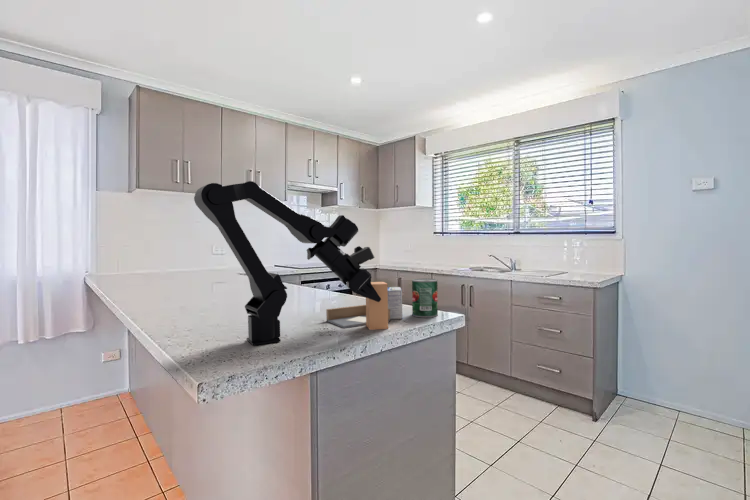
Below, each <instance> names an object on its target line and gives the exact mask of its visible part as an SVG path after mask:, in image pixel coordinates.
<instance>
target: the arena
mask: <svg viewBox="0 0 750 500" xmlns="http://www.w3.org/2000/svg"><path fill="white" fill-rule="evenodd" d="M325 311H326V322H328V323H331V324H333V325H335V326H338V327H339V328H342V329H348V328H354V327H355V328H356V327H360V326H361V327H362V326H366V304H361V305H359V304H358V305H352V306H342V307H333V308H326V310H325ZM389 322H391V319H390V309H388V323H389Z"/></svg>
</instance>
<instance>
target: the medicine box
mask: <svg viewBox="0 0 750 500" xmlns="http://www.w3.org/2000/svg"><path fill="white" fill-rule="evenodd" d="M388 309H390V320H402V319H403V291H402V288H401V286H390V287H388Z"/></svg>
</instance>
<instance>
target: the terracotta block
mask: <svg viewBox="0 0 750 500" xmlns="http://www.w3.org/2000/svg"><path fill="white" fill-rule="evenodd" d="M371 284H372V286H373V288H374V289H375V290H376V292H377V293H378V295H379V296H380V298H381V300H380V302H377V301H374V300H372V299H369V298H366V297H365V305H366V325H365V326H366V328H367V329H368V330H371V331H372V330H373V331H374V330H386V329H387V330H388V329H389V322H388V288H389V287H388V283H387V282H385V281H371Z"/></svg>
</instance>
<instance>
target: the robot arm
mask: <svg viewBox="0 0 750 500" xmlns="http://www.w3.org/2000/svg"><path fill="white" fill-rule="evenodd" d="M193 197H194V198H193V201H194V203H195V206H197V208H198V209H199V211H201V212H202V214H203V215H204V216H205V217H206V218H207V219H208V220H209V221H211V222H212V223H213V225H215V226H216V227H217V229H218V230H219V233H220V234H221V235H222V236H223V238H224V241H226V243H227V245H228V246H229V248H230V250H231V251H232V253H233V255H234V256H235V258H236V259H237V262H238V264H239V265H240V266H241V268H242V270H243V271H244V273H245V275H246V276H247V278H248V281H249V287H250V290H251V291H250V292H251V294H252V297H251V298H250V299H249V301H248V302H246V304H245V305H244V309H245V311H246V314H247V315H248V316H247V321H248V322H247V325H248V326H247V327H248V331H247V332H248V335H247V336H248V337H246V341H247V342H249V343H250V345H252V346H259V345H266V344H271V343H278V342H281V338H280V337H281V320H280V319H278V318H279V317H280V314H281V312H282V308H283V307H284V305H285V304H286V302H287V298H288V293H287V291H286V290H287V289H288V287H287V286H286V285H285V283H283V281H282V278H281V276H280V274H278V273H272V272H268V271H267V269H266V268H265V266H264V264H263V263H262V262H263V261H261V259H260V257H259V255H258V254H257V252H256V251H255V249H254V247H253V245H252V243H251V241H249V239H248V237H247V235H246V234H245V232H244V230H243V229H242V227H241V225H240V223H239V222H238V220H237V218H236V212H235V207H234V202H238V201H239V202H240V201H243V200H244V201H247V202H249V204H251V205H252V206H254V207H256V208H257V209H259V210H260V211H262V212H264V213H265V214H267V215H268V216H270V218H271V217H272V218H273V219H274V220H276V221H277V222H279V223H281V224H282V225H284V227H286V228H287V229H288V231H289V233H290V234H291V235H292V236H293V237H294V238H296V240H297V241H299V242H300V243H302V244H314V245H313V247H308V248H307V249H306V253H307V254H306V255H307V256H306V259H307V260H311V259H312V258H314V257H316V258H317V259H319V261H320V262H322V263H323V264H324V265H325V267H327V268H328V269H329V270H330V271H331V272H332V273H333V274H334V275H335V276H337V277H338V278H339V281H340V282H341V283H343V285H345V286H346V287H347V288H348V289H350V290H351V292H352V293H354V294H356V295H359V296H361V297H364V298H365V299H366V298H369V299H372V300H374V301H377V302H380V300H381V298H380V296H379V295H378V293H377V292H376V290H375V289H374V288H373V286H372V284H371V282H372V273H370V272H369V270H367V269H366V268H363V267H362V265H361V264H364V263H366V262H367V261H369V260H370V261H371V260H373V259H375V255H374V254H373V251H372V249H371V247H370V246H365V247H362V246H360V245H358V246H356V247H354V249H353V251H354V252H352V254H350V255H349V254H348V253H346V252H344V251H343V250H342V249H341V248H340V247H343V248H344V247H346V246H347V245H348V244H349V243H350V241H351V240H352V239H354V237H355V236H356V235H357V234H358V233H359V227H358V226H357V224H356V223H355V222H353V220H350V219H349V218H346V216H345V215H343V214H342V215H338V216H337V217H336V218H335V220H334V221H333V222H332V224H331V225H329V226H325V225H324V223H322V221H319V220H318V219H315V218H313V217H310V216H308V215H304V214H301V213H299V212H297V211H296V210H294V209H293V208H291V207H289V206H288V205H287V204H285V202H283V201H281V200H280V199H278V198H277V197H275V196H274V195H272V194H270V193H269V192H268V191H266V190H265V189H264V188H262V187H261V186H260V185H259V184H257V182H255V181H252V180H248V181H246V182H241V183H235V184H234V183H233V184H228V185H223V184H220V183H217V182H210V183H207V184H205V185H203V186H200V187H199V188H198V189H197V190H196V191H195V193H194V196H193ZM361 267H362V268H361Z"/></svg>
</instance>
